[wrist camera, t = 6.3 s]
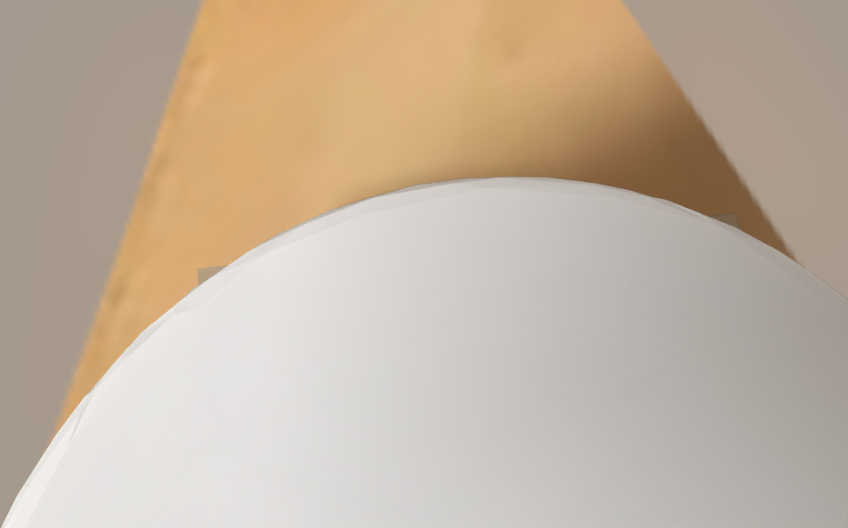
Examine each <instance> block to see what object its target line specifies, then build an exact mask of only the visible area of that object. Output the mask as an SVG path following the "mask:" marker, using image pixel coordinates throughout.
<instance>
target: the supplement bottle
mask: <svg viewBox="0 0 848 528" xmlns="http://www.w3.org/2000/svg"><path fill="white" fill-rule="evenodd" d="M1 528H848V299H846V298H845V297H844V296H843V295H842V294H840V293H839V292H838V291H836V290H835V289H834V288H832V287H831V286H829V285H828V284H827V283H825V282H824V281H822V280H821V279H819V278H818V277H817V276H815V275H814V274H812V273H811V272H809V271H808V270H807V269H805V268H804V267H802V266H801V265H799V264H798V263H796V262H795V261H793V260H792V259H790V258H789V257H787V256H786V255H784V254H783V253H781V252H780V251H778V250H776V249H774V248H773V247H771V246H769V245H767V244H765V243H763V242H761V241H760V240H758V239H756V238H754V237H752V236H750V235H748V234H747V233H745V232H743V231H741V230H739V229H737V228H735V227H733V226H730V225H728V224H726V223H723V222H721V221H718V220H716V219H713V218H711V217H708V216H706V215H703V214H701V213H698V212H696V211H693V210H691V209H688V208H685V207H683V206H680V205H678V204H675V203H673V202H670V201H668V200H665V199H660V198H654V197H650V196H647V195H644V194H641V193H637V192H634V191H631V190H626V189H622V188H617V187H612V186H607V185H602V184H597V183H591V182H582V181H574V180H565V179H557V178H548V177H491V178H469V179H459V180H452V181H444V182H436V183H429V184H421V185H415V186H411V187H407V188H404V189H400V190H396V191H392V192H389V193H385V194H381V195H378V196H374V197H370V198H367V199H363V200H360V201H357V202H354V203H351V204H348V205H345V206H342V207H339V208H336V209H333V210H330V211H327V212H325V213H323V214H321V215H318V216H316V217H314V218H312V219H310V220H307V221H305V222H303V223H301V224H299V225H297V226H294V227H292V228H290V229H288V230H286V231H284V232H281V233H279V234H278V235H276V236H274V237H272V238H271V239H269V240H267V241H265V242H264V243H262V244H260V245H258V246H257V247H255V248H253V249H252V250H250V251H249V252H247V253H246V254H244V255H243V256H241V257H240V258H239V259H237V260H236V261H234V262H233V263H231V264H230V265H228V266H227V267H225V268H224V269H222V270H221V271H219V272H218V273H216V274H215V275H213V276H212V277H210V278H209V279H207V280H206V281H204V282H203V283H201V284H200V285H198V286H197V287H195V288H194V289H193V290H192V291H191V292H189V293H188V294H187V295H186V296H185V297H184V298H183V299H182V300H181V301H179V302H178V303H177V304H176V305H175V306H174V307H172V308H171V309H170V310H169V311H167V312H166V313H165V314H164V315H162V316H161V317H160V318H159V319H158V320H156V321H155V322H154V323H153V324H151V325H150V326H149V327H148V328H146V329H145V330H144V331H143V332H142V333H141V334H140V335H139V336H138V337H137V338H136V339H135V340H134V342H133V343H132V344H131V345H130V346H129V347H128V348H127V349H126V350H125V352H124V353H123V354H122V355H121V356H120V357H119V358H118V359H117V360H116V361H115V363H114V364H113V365H112V366H111V367H110V369H109V370H108V371H107V372H106V373H105V374H104V376H103V377H102V378H101V379H100V380H99V382H98V383H97V384H96V385H95V386H94V388H93V389H92V390H91V391H90V392H89V393H88V394H87V395H86V396H85V397H84V398H83V399H82V401H81V402H80V403H79V405H78V406H77V407H76V409H75V410H74V411H73V413H72V414H71V415H70V417H69V418H68V419H67V421H66V422H65V423H64V425H63V426H62V427H61V429H60V430H59V432H58V433H57V434H56V436H55V437H54V439H53V440H52V442H51V444H50V445H49V447H48V448H47V450H46V451H45V453H44V454H43V456H42V458H41V459H40V461H39V462H38V464H37V465H36V467H35V469H34V470H33V472H32V474H31V475H30V476H29V478H28V479H27V481H26V483H25V484H24V486H23V487H22V489H21V491H20V492H19V494H18V496H17V497H16V499H15V501H14V504H13V505H12V507H11V509H10V511H9V513H8V516H7V517H6V519H5V522H4V523H3V525H2V527H1Z"/></svg>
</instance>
